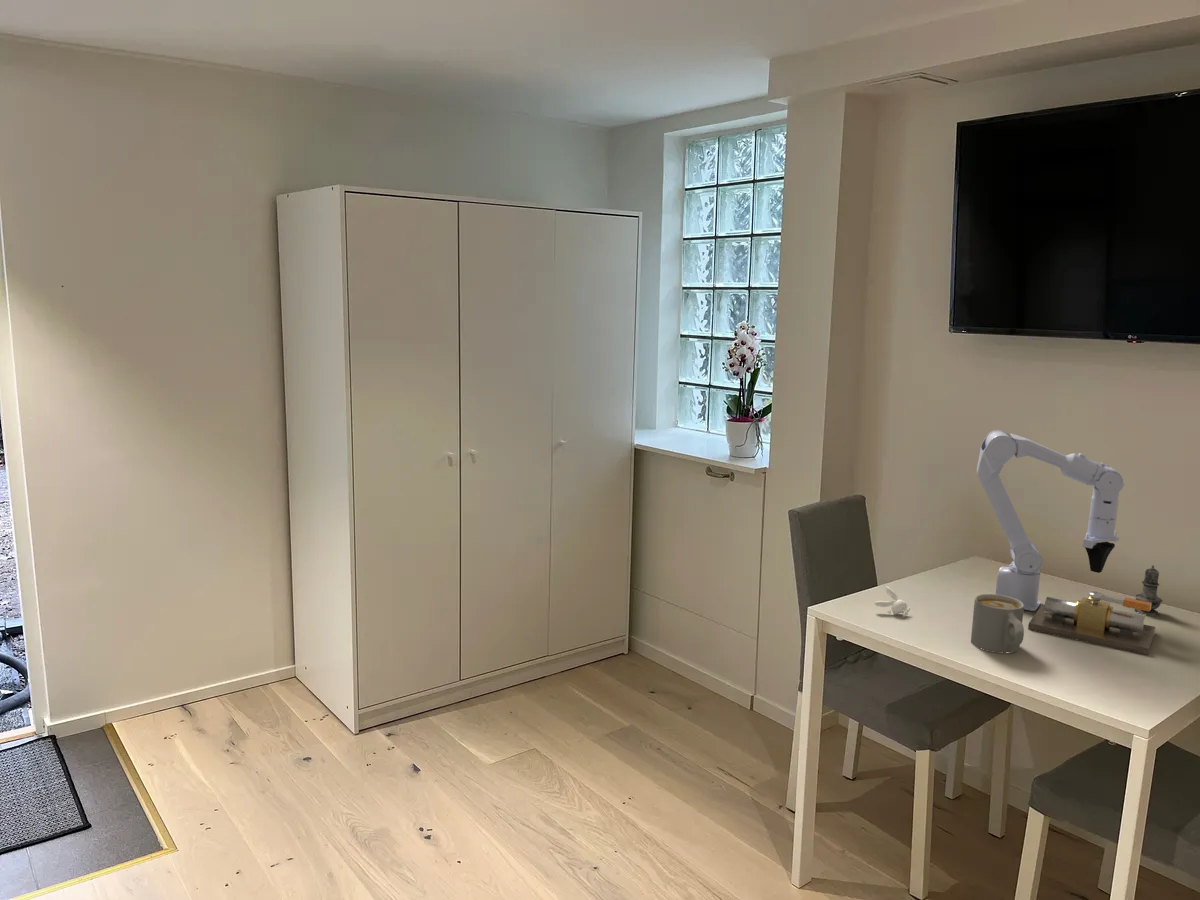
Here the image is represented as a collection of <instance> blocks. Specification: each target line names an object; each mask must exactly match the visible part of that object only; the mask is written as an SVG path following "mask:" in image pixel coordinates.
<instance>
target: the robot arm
mask: <svg viewBox="0 0 1200 900" xmlns="http://www.w3.org/2000/svg"><path fill="white" fill-rule="evenodd" d="M1009 434H1010V435H1009ZM979 448H980V451H979V456H978V460H977V461H978V462H977V465H976V474H977V476H978V477H977V478H978V479H979V481H980V483H981V485H982V488H983V489H984V492H985V494H986V496H987V498H988V500H989V503H990V504H991V506H992V509H993V511H994V513H995V515H996V517H997V519H998V522H999V524H1000V526H1001V527H1002V531H1003V532H1004V534H1005V537H1006V538H1007V540H1008V543H1009V545H1010V547H1009V548H1010V549H1009V554H1010V556H1011V558H1012V559H1013V560H1012V561H1011V563H1010V564H1008V566H1000V567H999V570H998V571H997V572H998V573H997V576H996V577H997V578H996V579H997V580H996V586H995V587H996V588H995V594H997V595H1004V596H1008V597H1012V598H1015V599H1017V600H1019V601H1021V602H1022V603H1023V604H1024V610H1023V611H1031V612H1037V611H1038V610H1037V609H1039V608H1040V606H1041V605H1042V601H1041V600H1038V597H1039V589H1040V583H1041V582H1040V581H1041V580H1040V579H1041V571H1042V570H1041V568H1042V567H1043V562H1044V561H1043V560H1044V559H1043V557H1042V555H1041V553H1040V552H1039V551H1038V547H1037V546H1036V544H1035V543H1034V542H1033V541H1031V540H1030V539H1029V537H1028V535H1027V532H1026V530H1025V529H1024V527H1023V523H1022V522H1021V520H1020V517H1019V516H1018V514H1017V512H1016V509H1015V507H1014V504H1013V503H1012V501H1011V499H1010V496H1009V494H1008V492H1007V490H1006V488H1005V486H1004V484H1003V481H1002V479H1001V477H1000V473H1001V471H1002V470H1003V468H1004V466H1005V464H1006V463H1007V462H1008V461H1010V460H1011V459H1012V458H1013V457H1014V456H1015V457H1016V459H1019V458H1023V457H1028V456H1029V457H1030V458H1033V459H1036V460H1039V461H1041V462H1044V463H1046V464H1049V465H1052V466H1055V467H1058V468H1059V469H1060V472H1061V474H1062V476H1065V477H1068V478H1070V479H1071V480H1074V481H1077V482H1080V483H1081V484H1085V485H1087V486H1093V487H1092V494H1091V495H1092V496H1091V497H1090V498H1091V499H1090V508H1089V513H1088V514H1089V515H1088V522H1087V523H1088V524H1087V531H1086V533H1085V537H1084V538H1083V539H1082V540H1083V541H1082V547H1083V548H1085V551H1086V553H1087V557H1088V562H1089V563H1088V564H1089V570H1090V571H1091V572H1094V573H1098V574H1100V573H1102V572H1103V570H1104V567H1105V564H1106V562H1107V559H1108V557H1109V556H1110V554H1111V553H1112V551H1113V549H1114V548H1115V547H1116V546H1115V543H1116V542H1119V541H1120V537H1117V534H1118V531H1117V530H1116V524H1117V523H1116V522H1117V515H1118V509H1119V507H1118V506H1119V496H1120V492H1121V491H1122V490H1123V488H1124V486H1125V482H1124V480H1123V476H1122V475H1121V473H1120V472H1118V471H1117V470H1116V469H1114V468H1113V467H1111V466H1110V465H1108V464H1107V465H1106V464H1105V463H1104V462H1102V461H1100V462H1097V461H1094V460H1092V459H1089V458H1087V457H1086V455H1085V454H1084V453H1081V452H1078V454H1077V453H1074V452H1073V453H1069V454H1067V455H1066V454H1062V453H1061V452H1059V451H1056V450H1054V449H1052V448H1049V447H1047V446H1045V445H1043V444H1040V443H1038V442H1036V441H1034V440H1031V439H1029V438H1027V437H1023V436H1020V435H1018V434H1015V433H1007V432H1006V431H1004V430H1000V429H996V430H992V431H990V432H988V433H987V434H986V436H985V438H984V439H983V441H982V442H981V444H980V447H979ZM1113 542H1115V543H1113Z"/></svg>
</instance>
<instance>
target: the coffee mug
mask: <svg viewBox="0 0 1200 900" xmlns="http://www.w3.org/2000/svg"><path fill="white" fill-rule="evenodd" d="M1024 611H1025V610H1024V604H1023V603H1022V602H1021V601H1019V600H1017V599H1015V598H1012V597H1008V596H1004V595H997V594H996V593H983V594H978V595H977V596H975V597H974V603H973V612H972V613H973V615H972V624H971V632H970V633H971V635H970V643H971V644H972V645H973V646H974V645H975V646H974V647H976V648H978V649H980V648H982V649H984V650H983V651H986V650H988V651H987V652H990V651H994V652H1003V653H1002V654H1007V653H1006V652H1014V653H1016V652H1015V651H1017V650H1018V651H1019V650H1020V645H1021V644H1022V643H1023V640H1024V637H1025V636H1024V635H1025V629H1024V624H1023V619H1024ZM982 649H981V650H982ZM1018 651H1017V652H1018ZM994 652H993V653H994Z"/></svg>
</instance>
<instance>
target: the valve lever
mask: <svg viewBox="0 0 1200 900" xmlns="http://www.w3.org/2000/svg"><path fill="white" fill-rule="evenodd" d="M1088 599H1092V600H1097V601H1104V602H1109V603H1113V604H1116V605H1121V606H1122V607H1125V608H1131V609H1134V610H1135V609H1139V610H1144V611H1150V610H1151V604H1152V603H1151V602H1146V601H1141V600H1136V598H1129V597H1125V598H1123V597H1119V596H1113V595H1108V594H1103V593H1101V592H1098V591H1094V590H1093V591H1089V592H1088Z"/></svg>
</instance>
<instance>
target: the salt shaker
mask: <svg viewBox="0 0 1200 900" xmlns="http://www.w3.org/2000/svg"><path fill="white" fill-rule="evenodd" d="M1159 576H1160V572H1159V571H1158V570H1157V569H1156V568H1155V566H1154V565H1151V567H1150V568H1147V569H1145V571H1144V580H1143V581H1141V583H1142V589H1141V592H1140V593H1138V594H1136V595H1134V599H1136V600H1141V601H1146V602H1151V603H1152V604H1151V610H1150V611H1144V610H1139V609H1134V611H1135V612H1136V613H1137V612H1139V613H1138V614H1140V613H1142V614H1141V615H1143V614H1146V615H1145V616H1148V615H1158V610H1156V609H1158V608H1159V607H1160V606H1161V604H1162V603H1163V599H1162V598H1160V597H1159V596H1158V586H1160V584H1159V583H1158V582H1159ZM1158 616H1159V615H1158Z"/></svg>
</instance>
